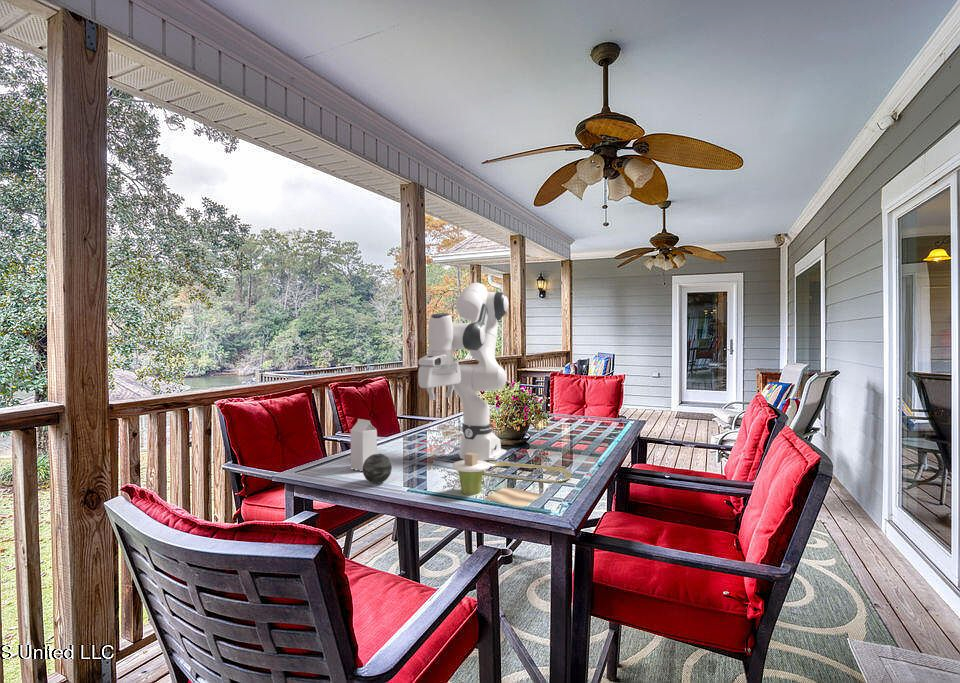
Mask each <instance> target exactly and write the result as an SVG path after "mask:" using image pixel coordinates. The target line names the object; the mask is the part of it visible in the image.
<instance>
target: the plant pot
mask: <svg viewBox="0 0 960 683" xmlns="http://www.w3.org/2000/svg"><path fill="white" fill-rule="evenodd" d="M484 471H485V470H484ZM484 471H480V472H462V471H457V472H458V476H459V483H460V489H461V494H464V495H469V496H473V495H474V496H475V495H479V494H481V493H482V484H483V473H485V472H484Z"/></svg>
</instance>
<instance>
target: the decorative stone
mask: <svg viewBox="0 0 960 683" xmlns="http://www.w3.org/2000/svg"><path fill="white" fill-rule="evenodd" d="M392 467H393V464H392V461H391V460H390V458H389V457H388V456H386V455H385V454H383V453H377V454H373V455H371V456H369V457H368V458H367V459H366V460H365V462H364V464H363V472H362V474H363V476H364V478H365V479H366V480H367V481H368V482H369V483H372V484H380V483H383V482H385V481H387V480H388V479H389V477H390V476H391V474H392V472H393V468H392Z"/></svg>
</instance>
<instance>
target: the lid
mask: <svg viewBox="0 0 960 683" xmlns="http://www.w3.org/2000/svg"><path fill="white" fill-rule="evenodd" d="M489 463H490V462H487V461H486V460H485V461H481V460H477V453H472V452H469V453H466V454H465V460H464V459H461V460H457V461H455V462H453V463H452V469H453V470H454V471H457V472H458V471H462V472H480V471H486V470H489V468H490V467H489Z"/></svg>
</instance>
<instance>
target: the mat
mask: <svg viewBox="0 0 960 683" xmlns="http://www.w3.org/2000/svg"><path fill="white" fill-rule="evenodd" d="M543 495H544V494H543V493H538V492H533V491H528V490H524V489H523V490H522V489H518V488H517V489H516V488H512V487H506V486H505V487H502V488H500V489H498V490H496V491H494V492H493V493H491V494H489V495H487V496H485V497H483V498H482V500H485V501H489V502H494V503H497V504H498V503H499V504H504V505H508V506H513V507H517V508H522V509H524V507H526V506H528V505H529V504H531V503H532V502H533V501H534V502H535V500H537V499H538V498H540V497H541V496H543Z"/></svg>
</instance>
